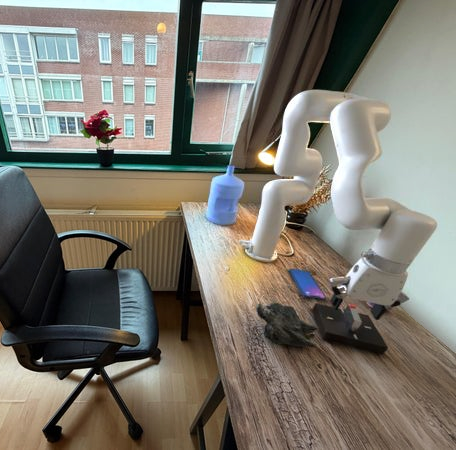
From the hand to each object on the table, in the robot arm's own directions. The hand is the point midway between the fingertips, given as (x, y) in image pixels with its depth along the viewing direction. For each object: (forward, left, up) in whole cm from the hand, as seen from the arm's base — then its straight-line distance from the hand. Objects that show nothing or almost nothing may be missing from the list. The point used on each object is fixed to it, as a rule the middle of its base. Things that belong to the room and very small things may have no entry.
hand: (353, 310), depth 67 cm
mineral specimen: (-18, -8, -7) cm, 21 cm away
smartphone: (-6, +18, -7) cm, 20 cm away
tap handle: (0, 0, -4) cm, 4 cm away
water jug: (-38, +60, -7) cm, 71 cm away
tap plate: (0, 0, -7) cm, 7 cm away
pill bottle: (+14, +15, -7) cm, 22 cm away
